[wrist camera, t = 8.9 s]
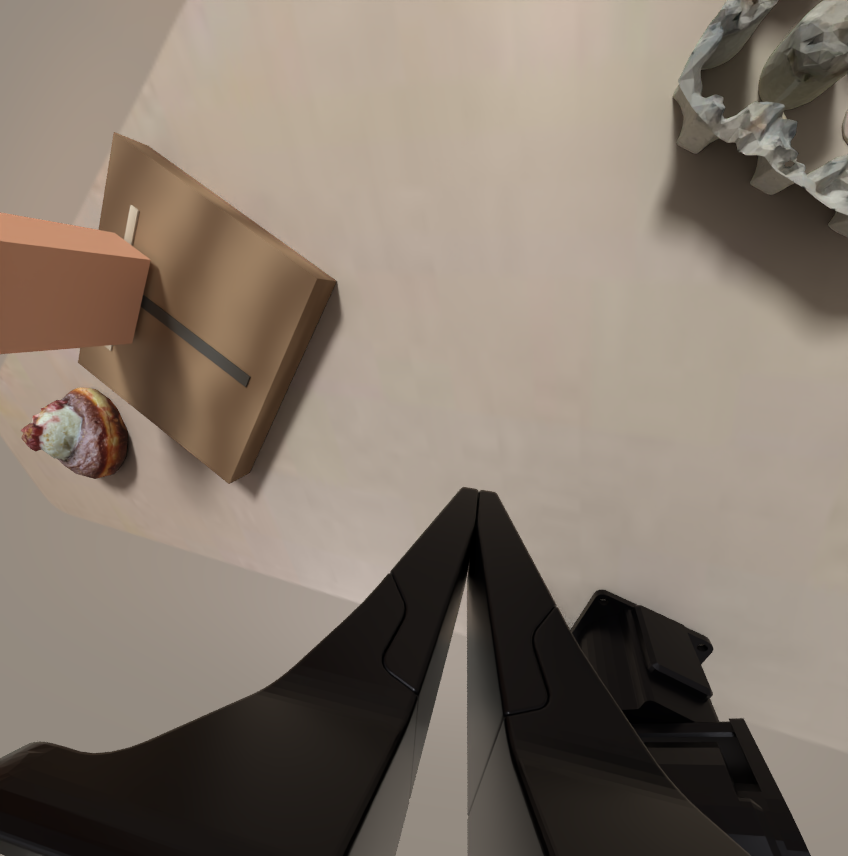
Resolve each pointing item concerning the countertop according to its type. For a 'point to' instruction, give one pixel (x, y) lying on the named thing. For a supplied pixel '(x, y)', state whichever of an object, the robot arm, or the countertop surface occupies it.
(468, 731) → the robot arm
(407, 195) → the countertop surface
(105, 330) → the handle
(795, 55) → the egg carton
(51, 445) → the pastry
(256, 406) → the fader track
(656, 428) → the countertop surface
